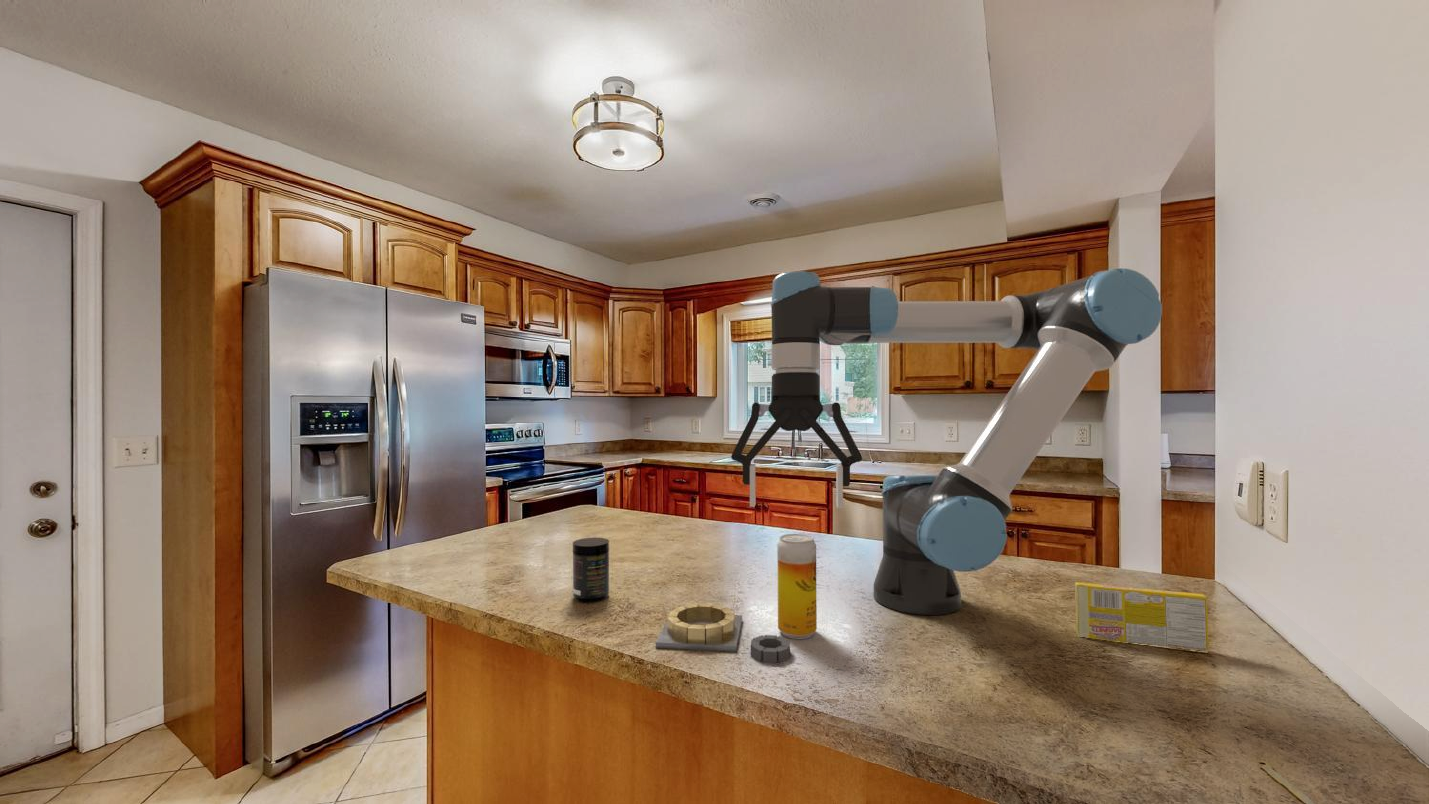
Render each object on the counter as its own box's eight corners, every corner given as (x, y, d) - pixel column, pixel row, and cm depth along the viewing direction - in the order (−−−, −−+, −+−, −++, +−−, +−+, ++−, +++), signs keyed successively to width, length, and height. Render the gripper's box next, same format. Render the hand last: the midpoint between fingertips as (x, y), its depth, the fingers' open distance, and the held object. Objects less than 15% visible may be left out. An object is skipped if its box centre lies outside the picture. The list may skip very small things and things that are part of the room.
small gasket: (789, 646, 84) (789, 636, 84) (790, 663, 79) (790, 652, 79) (752, 644, 85) (752, 634, 85) (749, 661, 79) (749, 650, 79)
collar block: (742, 620, 94) (742, 603, 94) (736, 651, 82) (735, 632, 82) (671, 617, 96) (671, 600, 96) (655, 647, 84) (655, 628, 84)
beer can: (816, 642, 86) (815, 543, 86) (776, 638, 87) (775, 541, 87) (817, 626, 91) (816, 534, 92) (779, 623, 93) (779, 532, 93)
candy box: (1203, 649, 83) (1203, 593, 83) (1209, 655, 81) (1209, 597, 81) (1074, 633, 89) (1074, 580, 89) (1077, 638, 87) (1077, 584, 87)
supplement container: (617, 596, 106) (616, 540, 106) (588, 606, 101) (588, 548, 101) (593, 588, 110) (593, 535, 110) (565, 598, 105) (564, 542, 105)
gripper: (872, 372, 91) (873, 503, 91) (719, 373, 94) (720, 500, 94) (880, 370, 84) (880, 512, 84) (714, 371, 87) (714, 508, 87)
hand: (795, 506), depth 89 cm, fingers open, 13 cm apart
